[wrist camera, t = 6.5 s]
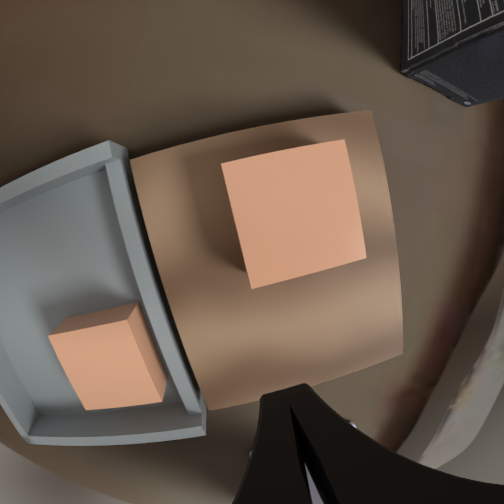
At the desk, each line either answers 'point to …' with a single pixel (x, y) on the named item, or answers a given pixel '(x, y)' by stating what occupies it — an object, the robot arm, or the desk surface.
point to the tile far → (110, 358)
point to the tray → (83, 301)
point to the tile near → (294, 211)
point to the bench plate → (277, 294)
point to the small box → (455, 47)
